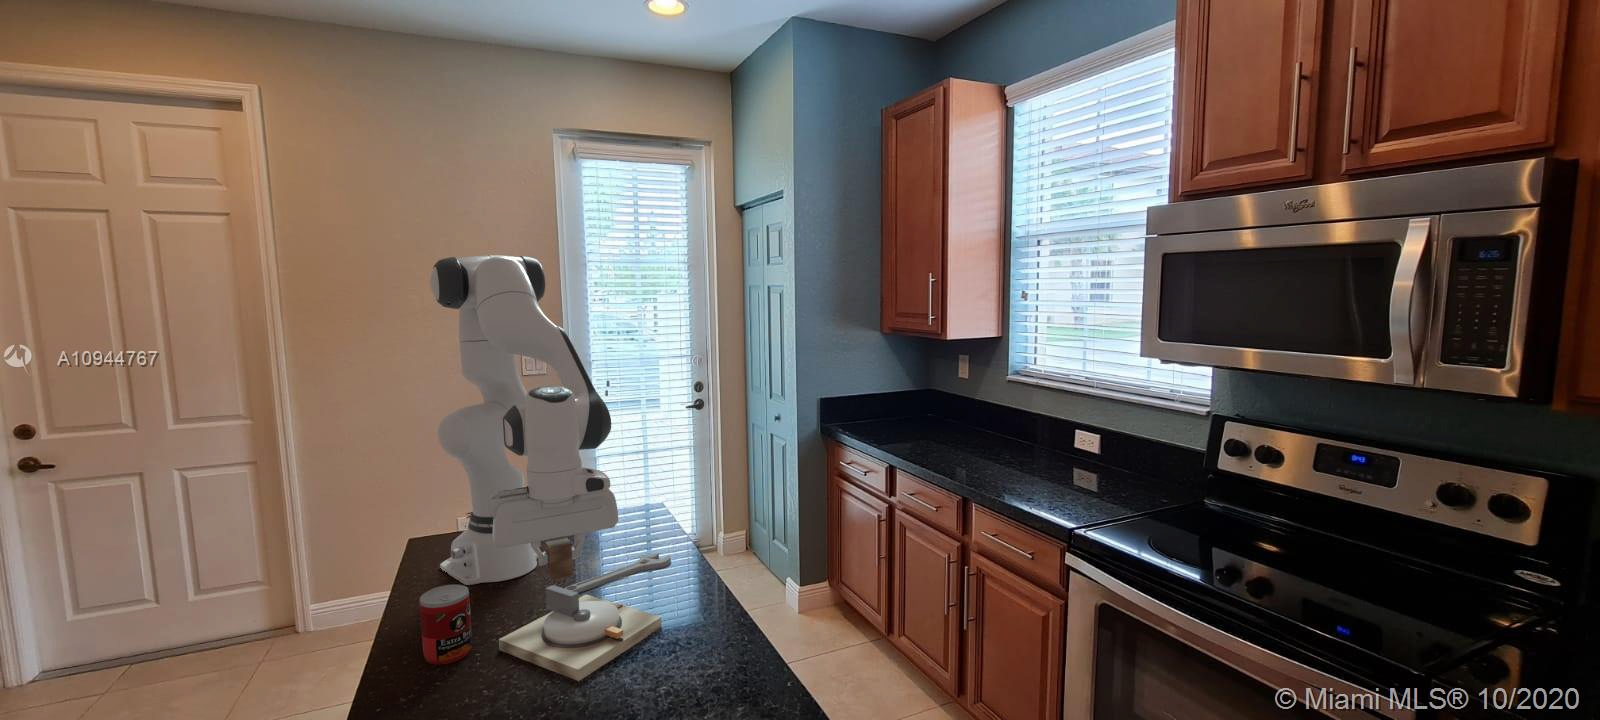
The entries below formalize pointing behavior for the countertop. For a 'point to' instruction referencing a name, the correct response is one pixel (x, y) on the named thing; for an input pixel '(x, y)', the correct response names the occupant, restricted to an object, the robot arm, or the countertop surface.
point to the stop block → (559, 558)
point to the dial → (578, 618)
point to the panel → (583, 656)
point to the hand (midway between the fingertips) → (559, 561)
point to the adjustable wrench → (622, 572)
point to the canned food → (446, 624)
